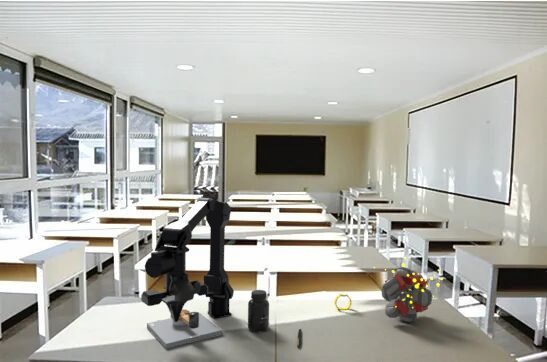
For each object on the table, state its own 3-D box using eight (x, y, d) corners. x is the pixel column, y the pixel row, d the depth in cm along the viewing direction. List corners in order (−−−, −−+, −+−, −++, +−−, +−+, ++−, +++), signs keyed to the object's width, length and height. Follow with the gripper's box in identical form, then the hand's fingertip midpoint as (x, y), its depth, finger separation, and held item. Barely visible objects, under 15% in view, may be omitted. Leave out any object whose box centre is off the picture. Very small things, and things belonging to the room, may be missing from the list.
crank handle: (167, 315, 137) (167, 303, 137) (184, 311, 141) (184, 299, 140) (186, 330, 125) (186, 317, 125) (205, 325, 129) (205, 312, 129)
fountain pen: (298, 329, 136) (298, 325, 136) (301, 330, 136) (302, 325, 136) (296, 350, 122) (296, 344, 122) (300, 350, 122) (300, 345, 122)
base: (198, 316, 147) (198, 306, 146) (222, 334, 132) (222, 323, 131) (146, 327, 137) (146, 317, 137) (166, 349, 122) (166, 337, 121)
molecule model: (413, 341, 127) (415, 267, 126) (357, 321, 143) (358, 255, 142) (453, 321, 144) (454, 255, 143) (398, 304, 159) (400, 245, 158)
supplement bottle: (266, 333, 133) (266, 296, 132) (245, 331, 134) (245, 294, 133) (270, 325, 139) (271, 289, 139) (250, 323, 141) (250, 288, 140)
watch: (349, 308, 156) (350, 292, 156) (351, 311, 153) (352, 295, 153) (333, 307, 156) (334, 292, 155) (335, 310, 153) (336, 294, 152)
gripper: (155, 280, 112) (155, 338, 113) (217, 270, 123) (217, 323, 124) (140, 271, 121) (140, 325, 122) (199, 262, 132) (199, 312, 133)
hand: (175, 321), depth 125 cm, fingers closed
